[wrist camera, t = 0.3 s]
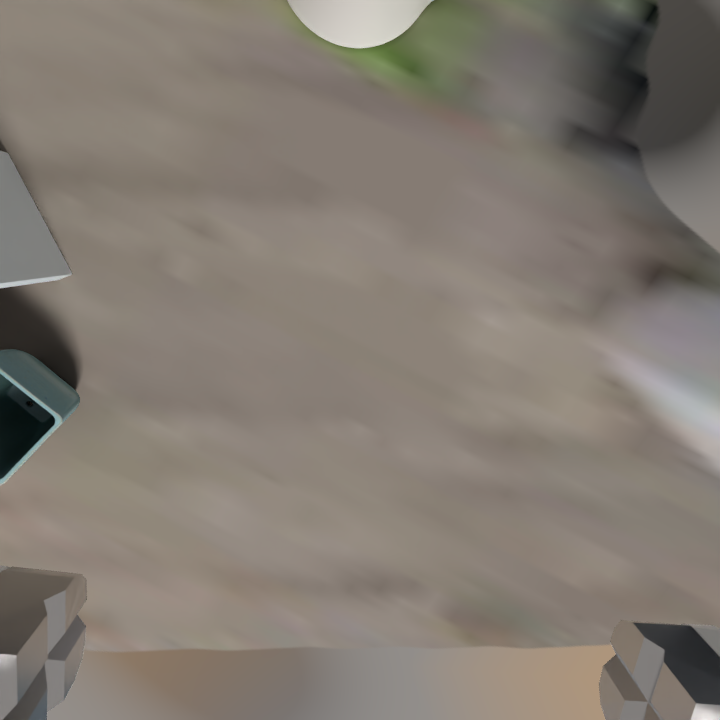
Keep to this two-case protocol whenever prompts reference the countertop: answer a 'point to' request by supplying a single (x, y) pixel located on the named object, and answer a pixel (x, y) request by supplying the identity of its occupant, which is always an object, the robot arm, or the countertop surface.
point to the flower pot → (29, 407)
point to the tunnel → (24, 235)
